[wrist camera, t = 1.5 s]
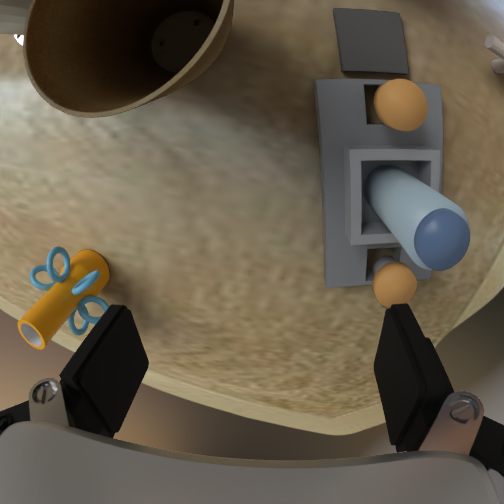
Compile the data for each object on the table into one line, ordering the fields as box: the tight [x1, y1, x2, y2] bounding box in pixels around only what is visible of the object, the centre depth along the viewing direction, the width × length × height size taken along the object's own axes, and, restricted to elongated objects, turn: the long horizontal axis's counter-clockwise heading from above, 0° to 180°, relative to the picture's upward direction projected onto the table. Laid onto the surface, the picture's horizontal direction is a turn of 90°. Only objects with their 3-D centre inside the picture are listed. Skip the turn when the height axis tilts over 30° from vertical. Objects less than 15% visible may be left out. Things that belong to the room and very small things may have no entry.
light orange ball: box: [373, 79, 428, 131], centre depth 22 cm, size 4×4×4 cm
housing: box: [313, 79, 443, 288], centre depth 28 cm, size 22×13×6 cm, turn 6°
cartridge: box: [364, 165, 470, 271], centre depth 23 cm, size 5×5×13 cm
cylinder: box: [18, 247, 110, 349], centre depth 32 cm, size 12×10×15 cm
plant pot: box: [23, 0, 234, 118], centre depth 19 cm, size 15×15×16 cm
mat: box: [333, 8, 409, 74], centre depth 24 cm, size 7×7×1 cm
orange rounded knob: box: [372, 256, 417, 308], centre depth 30 cm, size 4×4×4 cm
